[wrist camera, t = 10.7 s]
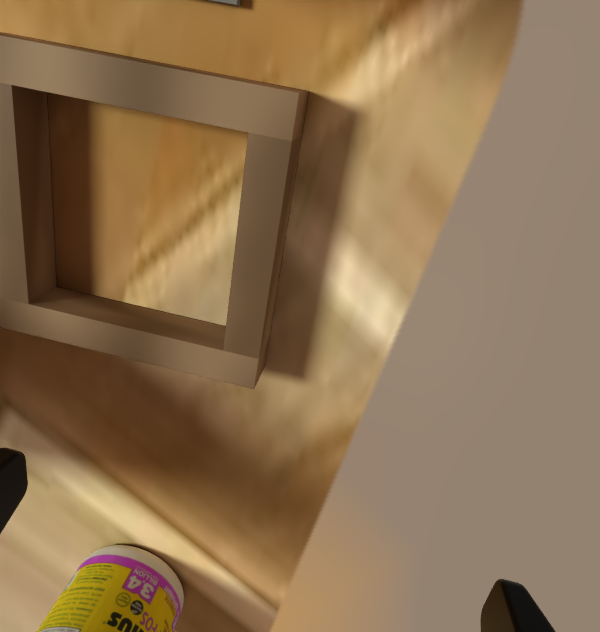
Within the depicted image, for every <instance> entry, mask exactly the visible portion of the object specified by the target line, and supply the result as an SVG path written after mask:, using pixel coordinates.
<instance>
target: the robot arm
mask: <svg viewBox="0 0 600 632" xmlns="http://www.w3.org/2000/svg"><path fill="white" fill-rule="evenodd" d="M27 485H28V480H27V469H26V459H25V455H24V454H23V453H22V452H20V451H16V450H12V449H9V448H0V534H1V532H2V530H3V529H4V527H5V526H6V524H7V522H8V521H9V519H10V518H11V516H12V514H13V513H14V511H15V510H16V508H17V506H18V505H19V503H20V502H21V500H22V498H23V497H24V495H25V493H26V490H27ZM481 632H555V630H554V629H553V627H552V626H551V624H550V623H549V622H548V620H547V619H546V617H545V616H544V614H543V613H542V611H541V610H540V609H539V607H538V606H537V604H536V603H535V601H534V600H533V598H532V597H531V595H530V594H529V593H528V591H527V590H526V589H525V587H524V586H523V585H521V584H519V583H516V582H512V581H508V580H504V579H499V580H497V581H496V583H495V584H494V586H493V588H492V590H491V592H490V594H489V596H488V598H487V600H486V602H485V604H484V606H483V609H482V613H481Z"/></svg>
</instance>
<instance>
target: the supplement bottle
mask: <svg viewBox="0 0 600 632" xmlns="http://www.w3.org/2000/svg"><path fill="white" fill-rule="evenodd" d="M183 603H184V592H183V588H182V585H181V583H180V581H179V579H178V577H177V575H176V574H175V573H174V571H173V570H172V569H171V568H170V567H169V566H168V565H167V564H166V563H165V562H164V561H162V560H161V559H160V558H158V557H157V556H155V555H153V554H151V553H150V552H147V551H145V550H142V549H140V548H136V547H132V546H126V545H111V546H107V547H103V548H101V549H98V550H96V551H94V552H93V553H91V554H90V555H89V556H88V557H87V558H86V559H85V560H84V561H83V563H82V564H81V566H80V567H79V568H78V570H77V571H76V573H75V574H74V576H73V577H72V579H71V580H70V582H69V583H68V585H67V586H66V588H65V589H64V591H63V592H62V594H61V596H60V597H59V599H58V600H57V602H56V603H55V605H54V606H53V608H52V609H51V611H50V612H49V614H48V615H47V617H46V618H45V620H44V621H43V623H42V625H41V626H40V628H39V629H38V631H37V632H173V630H174V628H175V626H176V623H177V621H178V618H179V615H180V613H181V611H182V607H183Z"/></svg>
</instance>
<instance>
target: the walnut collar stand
mask: <svg viewBox="0 0 600 632" xmlns="http://www.w3.org/2000/svg"><path fill="white" fill-rule="evenodd" d="M47 92H49V93H54V94H59V95H64V96H69V97H74V98H79V99H84V100H89V101H94V102H99V103H104V104H109V105H114V106H119V107H124V108H129V109H134V110H139V111H144V112H149V113H154V114H159V115H164V116H169V117H174V118H179V119H184V120H189V121H194V122H199V123H204V124H209V125H214V126H219V127H224V128H229V129H234V130H239V131H244V132H248V141H247V150H246V158H245V167H244V176H243V184H242V193H241V202H240V210H239V219H238V228H237V236H236V245H235V254H234V262H233V271H232V280H231V288H230V297H229V306H228V314H227V323H226V327H225V326H221V325H217V324H213V323H208V322H204V321H200V320H196V319H191V318H187V317H183V316H178V315H174V314H170V313H166V312H161V311H157V310H153V309H149V308H144V307H140V306H136V305H132V304H127V303H123V302H119V301H114V300H110V299H106V298H102V297H97V296H93V295H89V294H85V293H80V292H76V291H72V290H67V289H63V288H59V287H57V284H56V264H55V244H54V224H53V204H52V185H51V165H50V145H49V125H48V105H47ZM308 94H309V91H306V90H300V89H295V88H290V87H285V86H280V85H274V84H269V83H264V82H259V81H254V80H248V79H243V78H238V77H233V76H227V75H222V74H217V73H212V72H207V71H201V70H196V69H191V68H186V67H181V66H175V65H170V64H165V63H160V62H155V61H149V60H144V59H139V58H134V57H128V56H123V55H118V54H113V53H108V52H102V51H97V50H92V49H87V48H82V47H76V46H71V45H66V44H61V43H55V42H50V41H45V40H40V39H35V38H29V37H24V36H19V35H14V34H9V33H1V32H0V327H1V328H5V329H9V330H13V331H17V332H21V333H25V334H29V335H33V336H38V337H42V338H46V339H50V340H54V341H58V342H62V343H66V344H70V345H74V346H79V347H83V348H87V349H91V350H95V351H99V352H103V353H107V354H111V355H115V356H120V357H124V358H128V359H132V360H136V361H140V362H144V363H148V364H152V365H157V366H161V367H165V368H169V369H173V370H177V371H181V372H185V373H189V374H193V375H198V376H202V377H206V378H210V379H214V380H218V381H222V382H226V383H230V384H235V385H239V386H243V387H247V388H251V389H254V388H255V386H256V384H257V382H258V380H259V377H260V375H261V373H262V371H263V369H264V367H265V363H266V357H267V350H268V344H269V338H270V332H271V325H272V319H273V313H274V307H275V300H276V294H277V288H278V282H279V275H280V269H281V263H282V257H283V250H284V244H285V238H286V232H287V225H288V219H289V213H290V207H291V200H292V194H293V188H294V182H295V175H296V169H297V163H298V157H299V150H300V144H301V138H302V132H303V125H304V119H305V113H306V107H307V100H308Z"/></svg>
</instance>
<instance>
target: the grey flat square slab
mask: <svg viewBox="0 0 600 632" xmlns="http://www.w3.org/2000/svg"><path fill="white" fill-rule="evenodd" d="M208 1H213V2H219V3H224V4H230V5H236V6H240V2H241V0H208Z"/></svg>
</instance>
